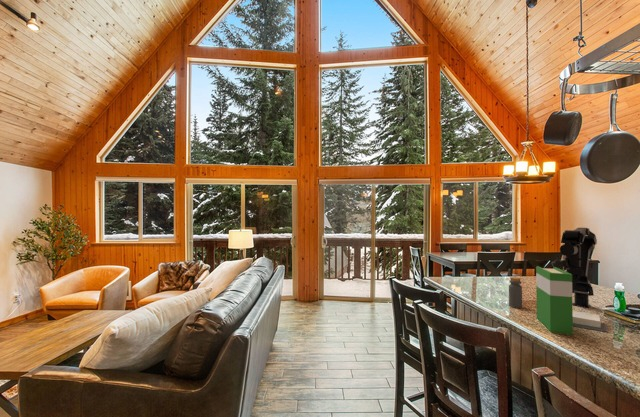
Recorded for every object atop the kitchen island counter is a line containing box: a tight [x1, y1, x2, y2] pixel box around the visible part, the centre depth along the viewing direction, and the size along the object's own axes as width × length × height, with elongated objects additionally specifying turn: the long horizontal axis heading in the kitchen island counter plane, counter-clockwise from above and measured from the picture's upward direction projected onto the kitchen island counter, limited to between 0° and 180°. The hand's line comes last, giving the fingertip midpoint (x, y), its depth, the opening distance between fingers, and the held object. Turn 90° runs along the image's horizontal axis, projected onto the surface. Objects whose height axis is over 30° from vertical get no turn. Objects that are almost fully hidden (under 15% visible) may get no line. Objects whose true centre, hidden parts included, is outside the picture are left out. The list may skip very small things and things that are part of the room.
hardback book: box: [535, 265, 574, 336], centre depth 132 cm, size 18×7×24 cm, turn 160°
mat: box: [573, 322, 609, 333], centre depth 135 cm, size 12×15×1 cm
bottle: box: [508, 276, 523, 309], centre depth 161 cm, size 6×6×15 cm
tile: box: [573, 310, 602, 329], centre depth 136 cm, size 3×11×11 cm
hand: (572, 287), depth 153 cm, fingers closed
